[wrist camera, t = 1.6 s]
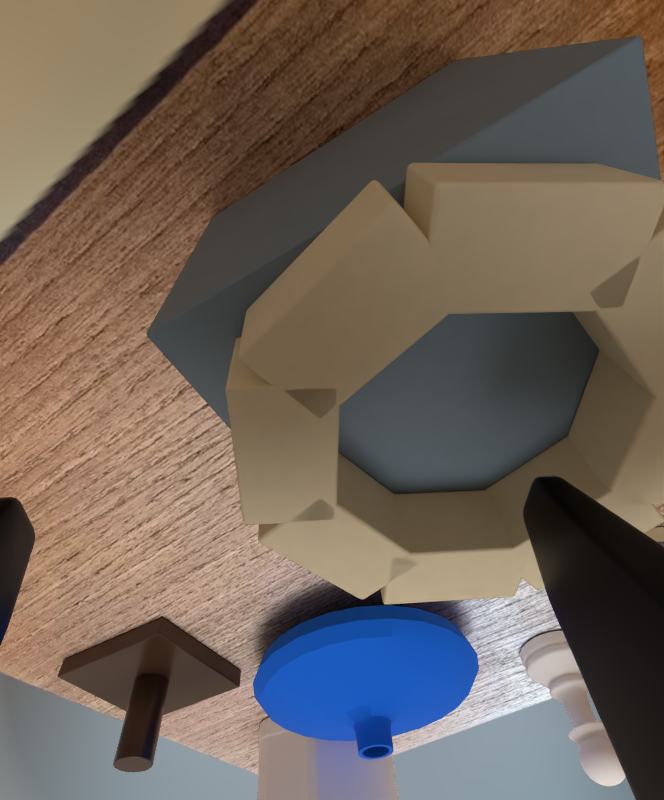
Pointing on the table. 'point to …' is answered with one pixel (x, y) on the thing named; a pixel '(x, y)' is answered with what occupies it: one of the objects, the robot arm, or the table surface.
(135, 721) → the stand
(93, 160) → the table surface
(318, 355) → the ring
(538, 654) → the chess pawn
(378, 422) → the block
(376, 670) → the blue rounded piece
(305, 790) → the jar
